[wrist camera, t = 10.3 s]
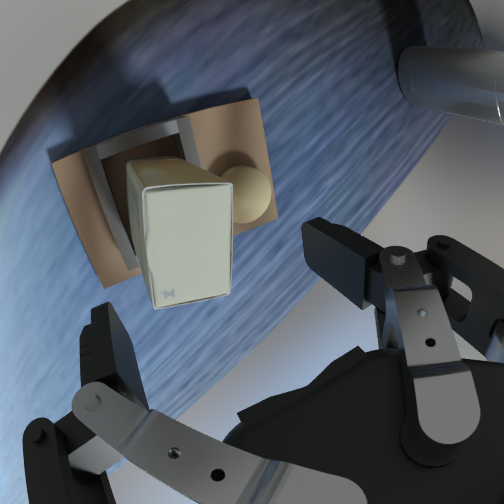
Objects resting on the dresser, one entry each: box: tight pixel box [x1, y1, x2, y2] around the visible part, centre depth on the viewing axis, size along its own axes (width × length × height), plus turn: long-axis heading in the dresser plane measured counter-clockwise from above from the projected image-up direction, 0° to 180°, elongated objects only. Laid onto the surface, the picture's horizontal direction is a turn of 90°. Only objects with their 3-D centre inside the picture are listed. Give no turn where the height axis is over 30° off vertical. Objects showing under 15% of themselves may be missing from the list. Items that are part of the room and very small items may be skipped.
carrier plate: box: [52, 98, 278, 289], centre depth 24 cm, size 18×12×4 cm, turn 102°
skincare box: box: [125, 156, 233, 309], centre depth 19 cm, size 6×4×12 cm
